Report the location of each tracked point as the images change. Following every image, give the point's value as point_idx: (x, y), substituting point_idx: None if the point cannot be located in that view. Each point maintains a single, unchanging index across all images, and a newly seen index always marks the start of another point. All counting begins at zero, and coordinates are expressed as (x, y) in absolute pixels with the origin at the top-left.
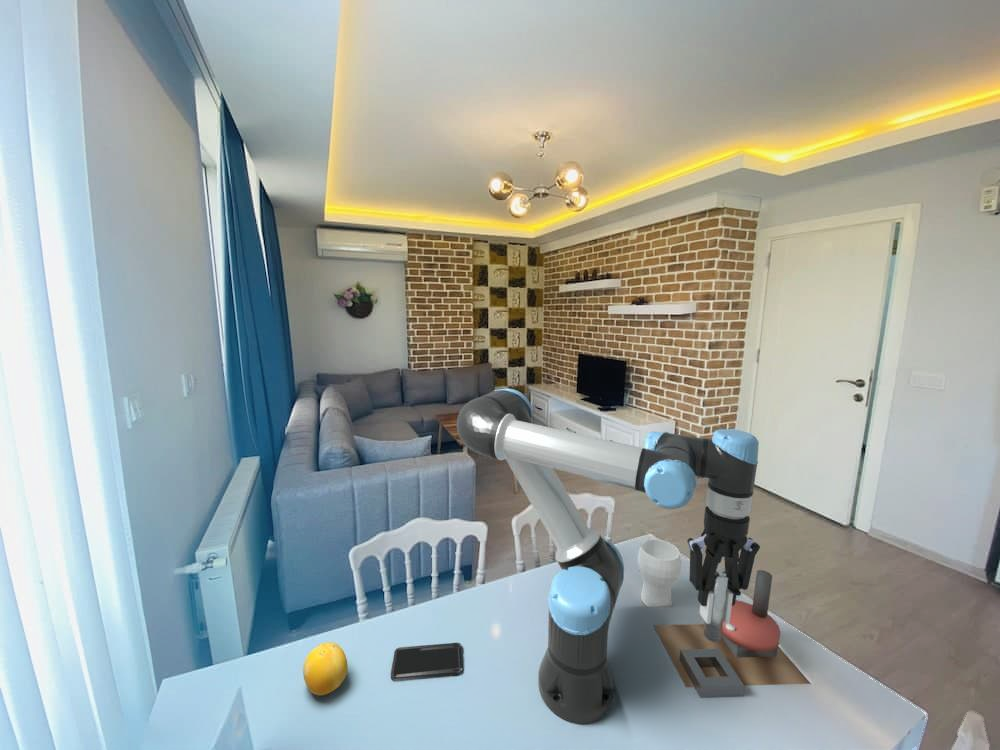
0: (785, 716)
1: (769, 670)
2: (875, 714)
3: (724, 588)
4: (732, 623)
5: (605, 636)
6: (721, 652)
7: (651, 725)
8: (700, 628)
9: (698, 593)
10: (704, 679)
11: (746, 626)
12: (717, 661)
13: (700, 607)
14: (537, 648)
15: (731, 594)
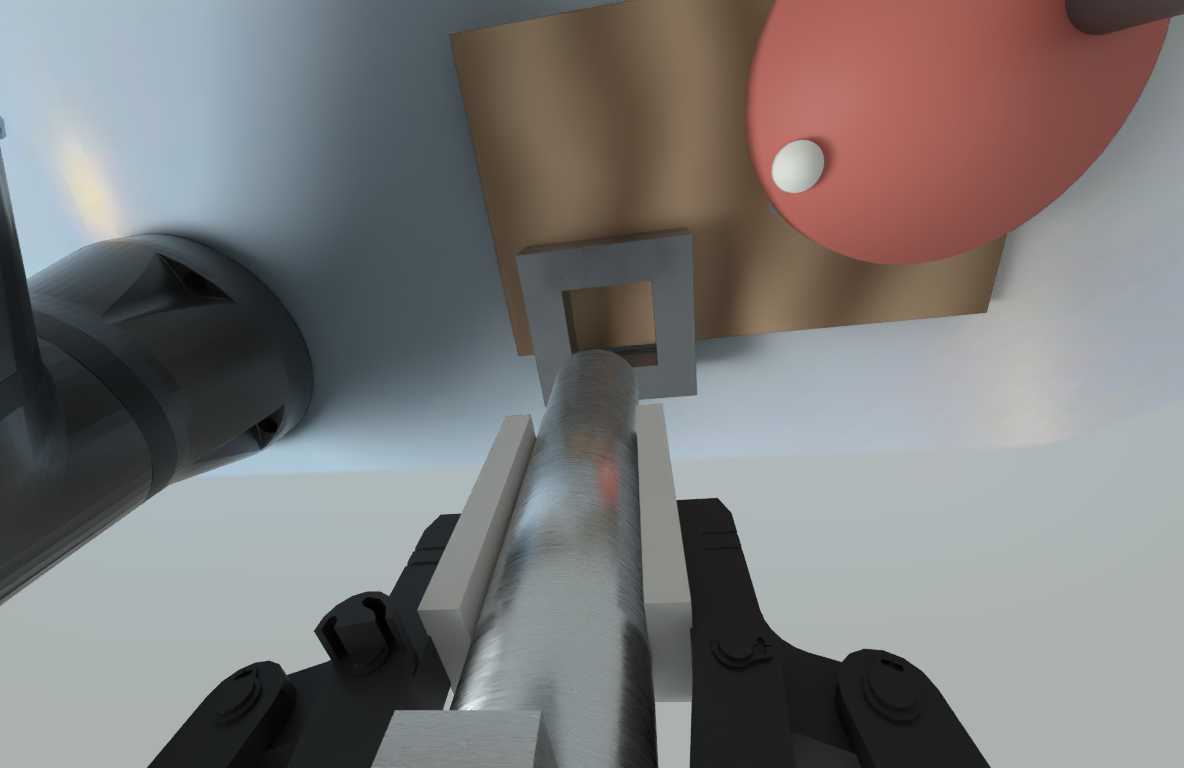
0: (795, 397)
1: (867, 267)
2: (1106, 375)
3: None
4: (835, 122)
5: (33, 565)
6: (691, 254)
7: (413, 436)
8: (692, 25)
9: (401, 579)
10: None
11: (906, 142)
12: (653, 296)
13: (495, 443)
14: (30, 210)
15: (677, 696)
